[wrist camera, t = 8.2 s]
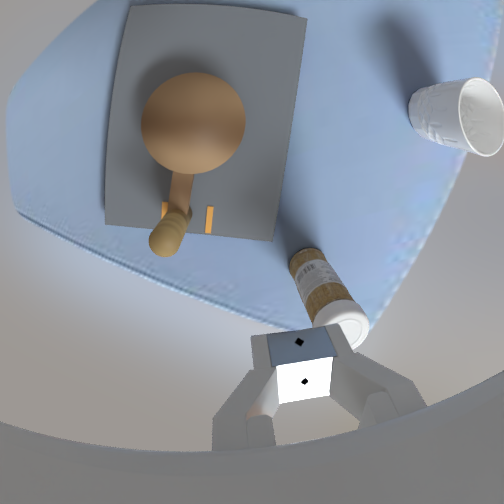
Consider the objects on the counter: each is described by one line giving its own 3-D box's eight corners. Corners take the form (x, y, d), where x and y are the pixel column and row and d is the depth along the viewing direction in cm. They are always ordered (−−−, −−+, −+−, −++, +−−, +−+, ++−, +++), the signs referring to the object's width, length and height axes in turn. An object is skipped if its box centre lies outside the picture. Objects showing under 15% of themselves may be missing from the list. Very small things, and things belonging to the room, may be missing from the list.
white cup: (439, 156, 30) (494, 171, 21) (394, 123, 29) (448, 126, 20) (457, 107, 28) (512, 110, 19) (415, 71, 26) (469, 61, 17)
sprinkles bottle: (298, 287, 36) (329, 364, 24) (281, 258, 34) (308, 330, 22) (331, 270, 35) (376, 339, 23) (317, 239, 34) (362, 301, 21)
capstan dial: (159, 73, 24) (134, 54, 16) (253, 87, 25) (261, 70, 17) (137, 218, 29) (108, 247, 22) (222, 232, 30) (220, 266, 23)
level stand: (136, 12, 22) (130, 5, 20) (302, 24, 24) (307, 18, 22) (111, 219, 31) (104, 224, 29) (270, 235, 33) (272, 242, 31)
